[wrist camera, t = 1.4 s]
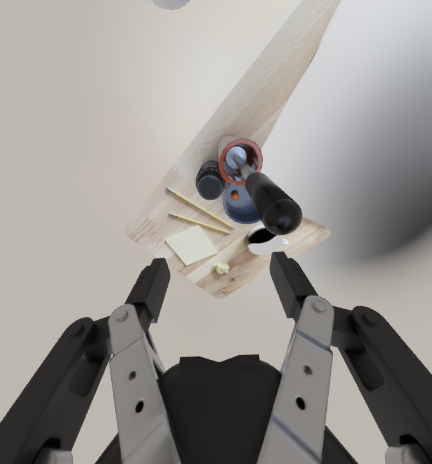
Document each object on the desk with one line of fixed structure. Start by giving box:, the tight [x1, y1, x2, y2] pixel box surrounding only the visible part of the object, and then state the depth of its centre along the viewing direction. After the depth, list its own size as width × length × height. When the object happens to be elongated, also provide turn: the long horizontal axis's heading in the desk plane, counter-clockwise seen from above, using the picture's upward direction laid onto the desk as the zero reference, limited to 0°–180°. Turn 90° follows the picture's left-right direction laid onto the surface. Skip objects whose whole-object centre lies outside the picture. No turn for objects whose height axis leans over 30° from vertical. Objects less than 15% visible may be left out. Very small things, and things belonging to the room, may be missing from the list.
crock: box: [218, 135, 263, 186], centre depth 26 cm, size 5×5×20 cm
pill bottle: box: [196, 161, 226, 200], centre depth 33 cm, size 6×6×11 cm
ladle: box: [225, 145, 302, 235], centre depth 14 cm, size 3×3×20 cm
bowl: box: [223, 182, 261, 224], centre depth 38 cm, size 12×12×5 cm
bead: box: [231, 192, 239, 201], centre depth 39 cm, size 2×2×2 cm
